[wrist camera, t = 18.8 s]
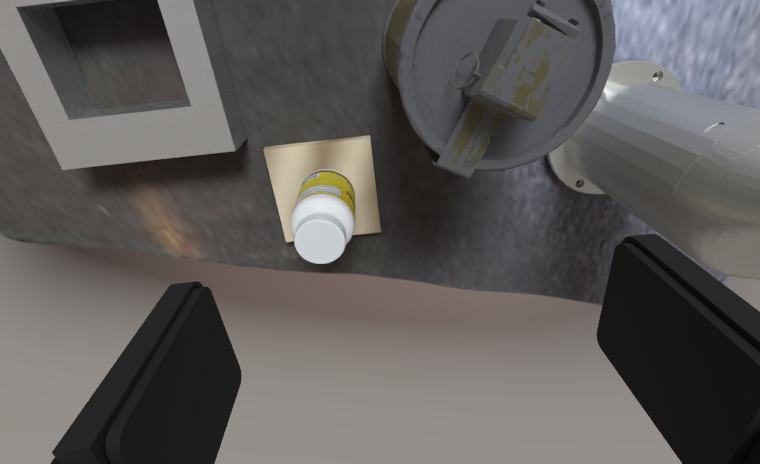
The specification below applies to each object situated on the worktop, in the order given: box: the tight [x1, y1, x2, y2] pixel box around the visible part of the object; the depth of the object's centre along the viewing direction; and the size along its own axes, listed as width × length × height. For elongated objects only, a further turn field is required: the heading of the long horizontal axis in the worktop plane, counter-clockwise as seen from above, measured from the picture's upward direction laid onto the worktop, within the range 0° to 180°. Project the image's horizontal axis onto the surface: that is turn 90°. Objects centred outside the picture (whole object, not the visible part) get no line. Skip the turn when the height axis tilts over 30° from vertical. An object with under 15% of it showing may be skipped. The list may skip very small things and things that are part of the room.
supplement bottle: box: [290, 169, 355, 264], centre depth 35 cm, size 5×5×10 cm
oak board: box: [264, 135, 381, 242], centre depth 40 cm, size 10×10×1 cm
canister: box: [383, 0, 616, 179], centre depth 26 cm, size 11×10×20 cm
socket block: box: [0, 0, 247, 170], centre depth 32 cm, size 15×16×4 cm
